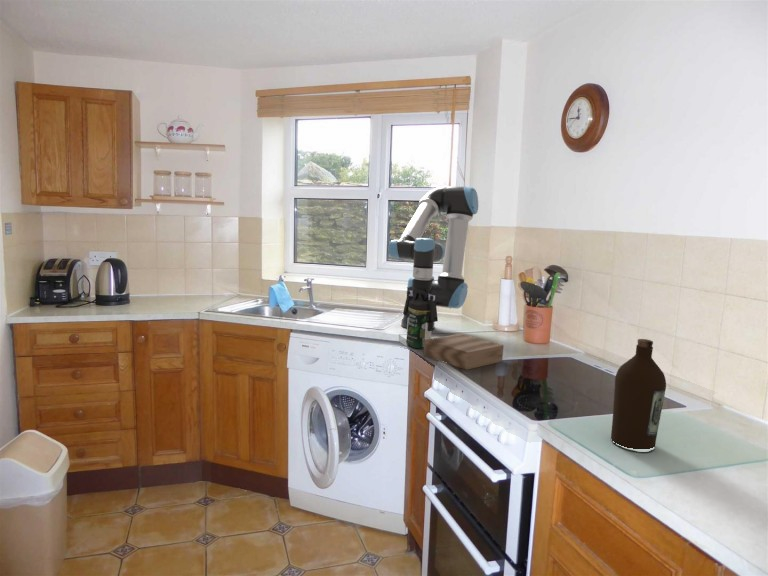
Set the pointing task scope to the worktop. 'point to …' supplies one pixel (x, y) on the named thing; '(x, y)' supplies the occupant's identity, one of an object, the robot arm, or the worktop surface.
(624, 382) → the olive oil
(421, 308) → the coffee jar
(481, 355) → the block
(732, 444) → the worktop surface
